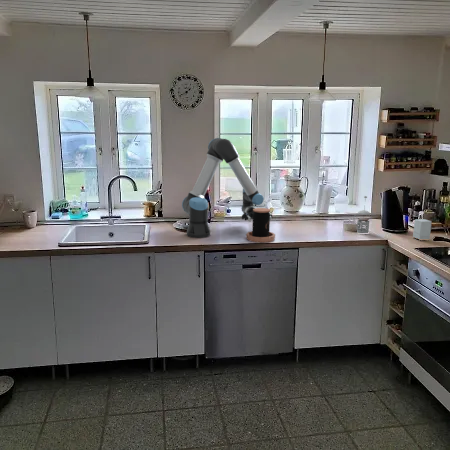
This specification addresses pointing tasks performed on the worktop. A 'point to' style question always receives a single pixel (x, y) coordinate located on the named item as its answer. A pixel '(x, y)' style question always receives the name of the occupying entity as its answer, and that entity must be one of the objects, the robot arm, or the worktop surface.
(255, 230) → the coffee jar
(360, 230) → the french press
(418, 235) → the supplement box
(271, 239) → the round tray
